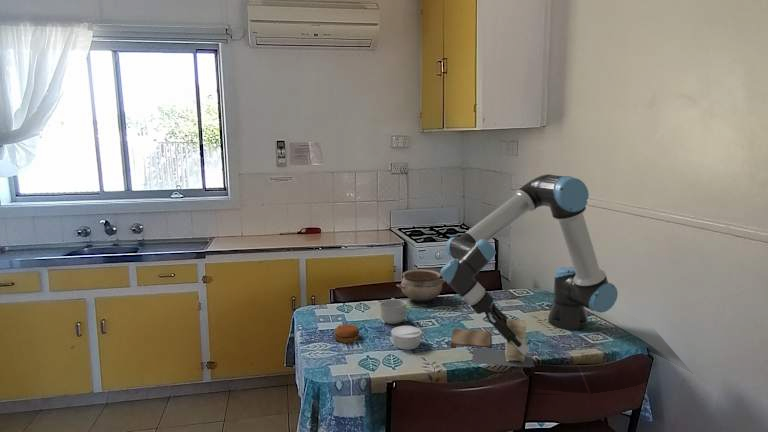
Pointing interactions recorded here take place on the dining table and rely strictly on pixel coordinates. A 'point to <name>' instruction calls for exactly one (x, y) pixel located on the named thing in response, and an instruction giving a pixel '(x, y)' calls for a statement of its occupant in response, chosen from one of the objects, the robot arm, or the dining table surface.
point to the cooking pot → (421, 284)
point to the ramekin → (406, 337)
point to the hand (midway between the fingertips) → (526, 347)
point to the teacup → (393, 310)
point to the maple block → (520, 330)
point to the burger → (346, 333)
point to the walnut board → (470, 338)
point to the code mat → (499, 358)
